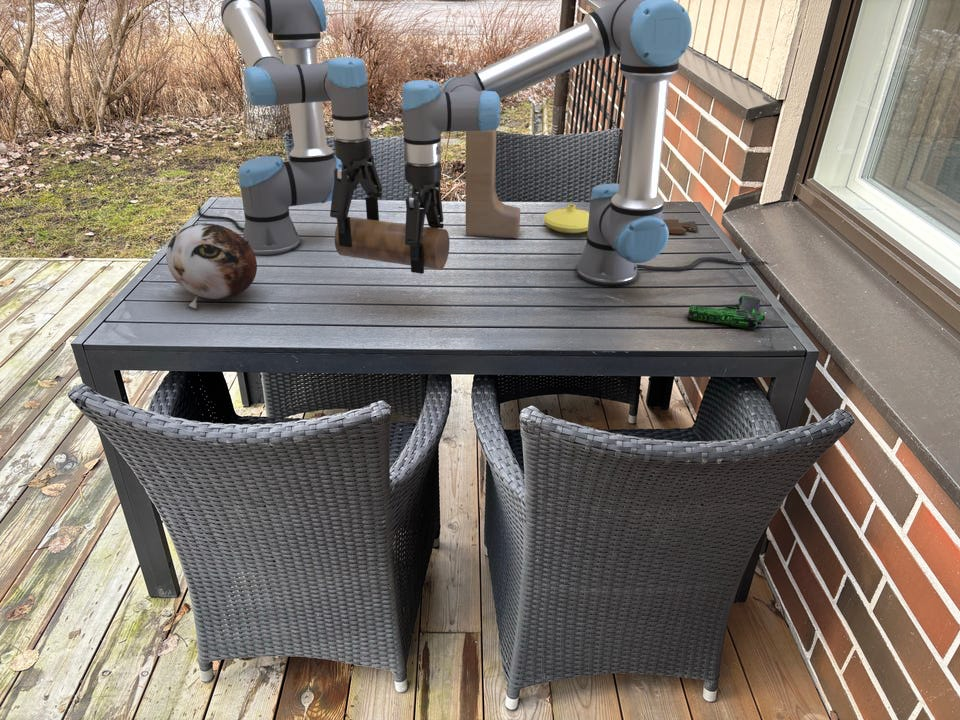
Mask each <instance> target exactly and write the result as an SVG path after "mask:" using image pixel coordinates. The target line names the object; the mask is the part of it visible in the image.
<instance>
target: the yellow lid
mask: <svg viewBox="0 0 960 720" xmlns="http://www.w3.org/2000/svg"><path fill="white" fill-rule="evenodd" d="M588 221H589V211H587V210H584V209H578V208H576V205H575V204H571V203H570V204H567V208H557V209H552V210H549V211H548V212H547V213H545V214H544V216H543V222H544V225H545V226H546V227H548V228H550V229H551V230H554V231H556V232H559V233H564V234H580V233H584V232H585V233H586V232H588Z"/></svg>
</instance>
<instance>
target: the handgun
mask: <svg viewBox="0 0 960 720" xmlns="http://www.w3.org/2000/svg"><path fill="white" fill-rule="evenodd" d="M738 303H739V305H737V306H730V305H725V306H724V307H723V308H715V307H708V306H700V305H695V304H691V305H690V306H689V307H688V312H687V313H688V314H687V319H688V320H692V321H693V320H694V321H698V322H699V321H700V322H707V323H714V324H720V325H727V326H731V327H736V328H741V329H745V330H749V331H754V330H756V328H757V327H758V325H759V326H762V323H763V321H765V319H766V316H765V314H763V313H761V312H758V311H759V309H760V307H761V306H760V305H761V299H760V298H759V297H756V296H749V295H740V297H739V298H738Z"/></svg>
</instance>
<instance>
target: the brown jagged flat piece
mask: <svg viewBox="0 0 960 720" xmlns="http://www.w3.org/2000/svg"><path fill="white" fill-rule="evenodd" d="M662 220H663V221H664V222H665V223H666V225H667V228H668V231H669V234H682V235H683V234H685V233H687V231H689V232H694V233H696V232H697V231H698V229H697V228H698V227H697V223H696V221H692V220H691V221H686V222H685V221H684V222H680V219H671V218H669V219H663V218H662ZM689 228H691V229H689ZM694 229H697V230H694Z"/></svg>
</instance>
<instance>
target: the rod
mask: <svg viewBox="0 0 960 720" xmlns="http://www.w3.org/2000/svg"><path fill="white" fill-rule="evenodd" d="M349 217H350V225H351V236H352V247H344V246H339V236H338V225H337V224H336V227H335V232H334V247H335V250H336V252H337V254H338V255H339V256H343V257H349V258H354V259H355V258H356V259H363V260H368V261H369V260H370V261H376V262H384V263H390V264H396V265H404V266H410V267H411V257H410V245H405V229H406V223H401V222H400V223H399V222H392V221H385V220H379V221H378V220H370V219H367V218H363V217H354V216H349ZM421 244H423V254H424V269H431V270H437V271H441V270H443V269H444V268H445V266H446V264H447V261H448V258H449V253H450V245H451V244H450V234H449V232H448V230H447V229H445V228H443V229H442V228H432V227H429V226H424V227H423V234H422V241H421Z"/></svg>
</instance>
